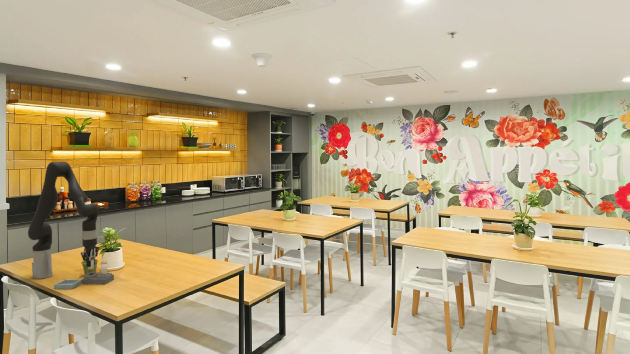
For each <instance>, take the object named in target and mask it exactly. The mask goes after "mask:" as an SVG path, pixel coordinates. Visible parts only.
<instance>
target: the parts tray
mask: <svg viewBox="0 0 630 354" xmlns="http://www.w3.org/2000/svg"><path fill="white" fill-rule="evenodd" d="M81 285H83V284H82V279H69V278H67V279H65V278H64V279H63V280H61V281H57V283H54V284H53V290H73V289H75V288H77V287H79V286H81Z"/></svg>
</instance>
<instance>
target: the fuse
mask: <svg viewBox="0 0 630 354" xmlns="http://www.w3.org/2000/svg"><path fill="white" fill-rule="evenodd" d="M107 273H108V261H106V260H105V261H101V262H100V274H101V276H106V275H107Z"/></svg>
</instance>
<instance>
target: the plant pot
mask: <svg viewBox="0 0 630 354" xmlns="http://www.w3.org/2000/svg"><path fill="white" fill-rule="evenodd" d="M98 262H99V259H98V258H95V265H94V269H93V270H88V267H87V266H86V261H83V260H82V261H81V263H80V264H81V266H82V268H83V274H84V275H86V274H88V273H97V268H98Z"/></svg>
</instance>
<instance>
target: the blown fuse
mask: <svg viewBox="0 0 630 354" xmlns="http://www.w3.org/2000/svg"><path fill="white" fill-rule="evenodd" d="M88 259H89V257H88ZM90 261H91V267H88V270H93V269H94V254H92V256H91V260H90Z"/></svg>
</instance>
